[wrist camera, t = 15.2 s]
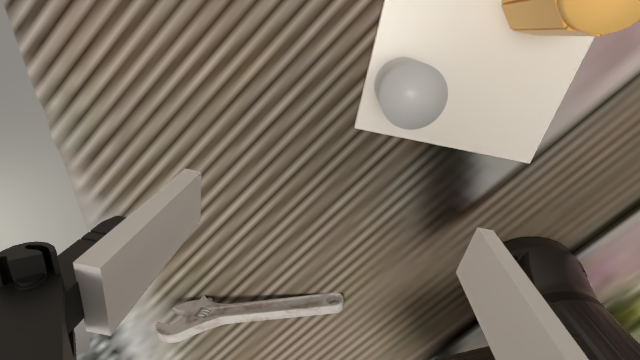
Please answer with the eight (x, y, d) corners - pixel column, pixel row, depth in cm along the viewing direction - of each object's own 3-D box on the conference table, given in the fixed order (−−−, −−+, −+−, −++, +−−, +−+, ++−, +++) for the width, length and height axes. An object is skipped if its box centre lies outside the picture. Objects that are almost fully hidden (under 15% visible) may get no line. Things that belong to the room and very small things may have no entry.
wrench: (341, 287, 56) (172, 305, 56) (340, 279, 55) (169, 297, 55) (346, 325, 48) (152, 345, 48) (346, 316, 47) (148, 337, 48)
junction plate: (523, 159, 40) (571, 193, 32) (354, 124, 40) (356, 150, 31) (626, -47, 31) (734, -78, 22) (405, -93, 31) (428, -142, 22)
